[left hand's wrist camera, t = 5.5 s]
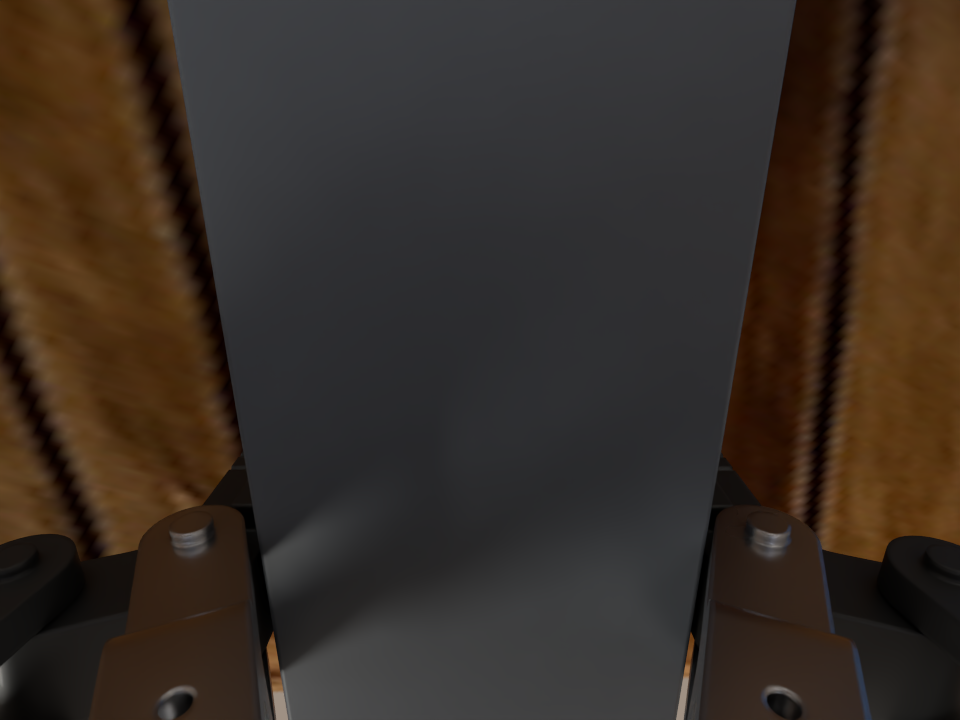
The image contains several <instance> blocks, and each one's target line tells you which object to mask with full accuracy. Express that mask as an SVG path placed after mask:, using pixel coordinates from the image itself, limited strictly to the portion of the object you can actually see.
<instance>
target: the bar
mask: <svg viewBox="0 0 960 720" xmlns="http://www.w3.org/2000/svg"><path fill="white" fill-rule="evenodd" d="M167 1H168V7H169V13H170V18H171V24H172V30H173V36H174V42H175V48H176V54H177V60H178V66H179V72H180V78H181V84H182V90H183V96H184V102H185V108H186V114H187V120H188V125H189V131H190V137H191V143H192V149H193V155H194V161H195V167H196V173H197V179H198V185H199V191H200V197H201V203H202V209H203V215H204V221H205V227H206V232H207V238H208V244H209V250H210V256H211V262H212V268H213V274H214V280H215V286H216V292H217V298H218V304H219V310H220V316H221V322H222V328H223V334H224V339H225V345H226V351H227V357H228V363H229V369H230V375H231V381H232V387H233V393H234V399H235V405H236V411H237V417H238V423H239V429H240V435H241V441H242V446H243V452H244V458H245V464H246V470H247V476H248V482H249V488H250V494H251V500H252V506H253V512H254V518H255V524H256V530H257V536H258V542H259V548H260V553H261V559H262V565H263V571H264V577H265V583H266V589H267V595H268V601H269V607H270V613H271V619H272V625H273V631H274V637H275V643H276V649H277V654H278V660H279V666H280V672H281V678H282V684H283V690H284V696H285V702H286V708H287V714H288V720H676V716H677V710H678V704H679V698H680V692H681V686H682V680H683V674H684V668H685V662H686V656H687V650H688V644H689V638H690V632H691V626H692V620H693V614H694V608H695V603H696V597H697V591H698V585H699V579H700V573H701V567H702V561H703V555H704V549H705V543H706V537H707V531H708V525H709V519H710V513H711V507H712V501H713V495H714V489H715V483H716V477H717V471H718V465H719V459H720V453H721V447H722V441H723V435H724V429H725V423H726V417H727V411H728V406H729V400H730V394H731V388H732V382H733V376H734V370H735V364H736V358H737V352H738V346H739V340H740V334H741V328H742V322H743V316H744V310H745V304H746V298H747V292H748V286H749V280H750V274H751V268H752V262H753V256H754V250H755V244H756V238H757V232H758V226H759V220H760V214H761V209H762V203H763V197H764V191H765V185H766V179H767V173H768V167H769V161H770V155H771V149H772V143H773V137H774V131H775V125H776V119H777V113H778V107H779V101H780V95H781V89H782V83H783V77H784V71H785V65H786V59H787V53H788V47H789V41H790V35H791V29H792V23H793V17H794V12H795V6H796V0H167Z"/></svg>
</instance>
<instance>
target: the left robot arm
mask: <svg viewBox="0 0 960 720" xmlns="http://www.w3.org/2000/svg"><path fill="white" fill-rule="evenodd" d="M272 632H273V625H272V619H271V613H270V607H269V601H268V595H267V589H266V583H265V577H264V571H263V565H262V559H261V553H260V548H259V542H258V536H257V530H256V524H255V518H254V512H253V506H252V500H251V494H250V488H249V482H248V476H247V470H246V464H245V458H244V452H242V453H241V457H238V459H237V460H236V461H235V463H234V464H233V465H232V469H231V470H229V471H228V472H227V473H226V475H225V476H224V477H223V479H222V480H221V481H220V483H219V484H218V485H217V487H216V488H215V489H214V491H213V492H212V493H211V495H210V496H209V497H208V499H207V500H206V501H205V503H204V504H203V505H202V506H197V507H192V508H188V509H185V510H182V511H179V512H176V513H174V514H172V515H169V516H167V517H166V518H164V519H162V520H160V521H159V522H157V523H156V524H154V525H153V526H152V527H151V528H150V529H149V530H148V531H147V532H146V533H145V534H144V535H143V537H142V539H141V540H140V543H139V547H138V550H135V551H131V552H127V553H122V554H117V555H112V556H107V557H102V558H97V559H92V560H87V561H82V562H80V559H79V556H78V552H77V549H76V546H75V544H74V542H73V541H72V540H71V539H70V538H68V537H66V536H62V535H58V534H40V535H34V536H28V537H24V538H20V539H16V540H13V541H10V542H7V543H4V544H2V545H0V720H276V715H275V707H274V698H273V690H272V682H271V674H270V666H269V659H268V653H267V644H268V642H269V639H270V637H271V635H272ZM691 633H692V635H693V637H694V640H695V641H694V647H693V653H692V659H691V666H690V674H689V682H688V690H687V698H686V707H685V715H684V720H960V546H959V545H956V544H954V543H950V542H947V541H944V540H940V539H936V538H931V537H924V536H903V537H898V538H896V539H894V540H892V541H891V542H890V543H889V544H888V546H887V548H886V552H885V555H884V558H883V561H882V562H877V561H872V560H867V559H862V558H857V557H852V556H847V555H843V554H838V553H833V552H829V551H826V550H823V549H822V547H821V543H820V540H819V539H818V537H817V535H816V534H815V533H814V532H813V531H812V530H811V529H810V528H809V527H808V526H807V525H806V524H804V523H803V522H801V521H800V520H798V519H796V518H794V517H793V516H791V515H788V514H786V513H784V512H781V511H778V510H775V509H772V508H768V507H763V506H761V504H760V503H759V502H758V501H757V499H756V498H755V497H754V495H753V494H752V493H751V491H750V490H749V489H748V487H747V486H746V485H745V483H744V482H743V481H742V479H741V478H740V477H739V475H738V474H737V473H736V471H733V470H732V466H731V465H730V464H729V462H728V461H727V460H726V458H723V454H722V453H720V459H719V465H718V471H717V477H716V483H715V489H714V495H713V501H712V507H711V513H710V519H709V525H708V531H707V537H706V543H705V549H704V555H703V561H702V567H701V573H700V579H699V585H698V591H697V597H696V603H695V608H694V614H693V620H692V626H691Z"/></svg>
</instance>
